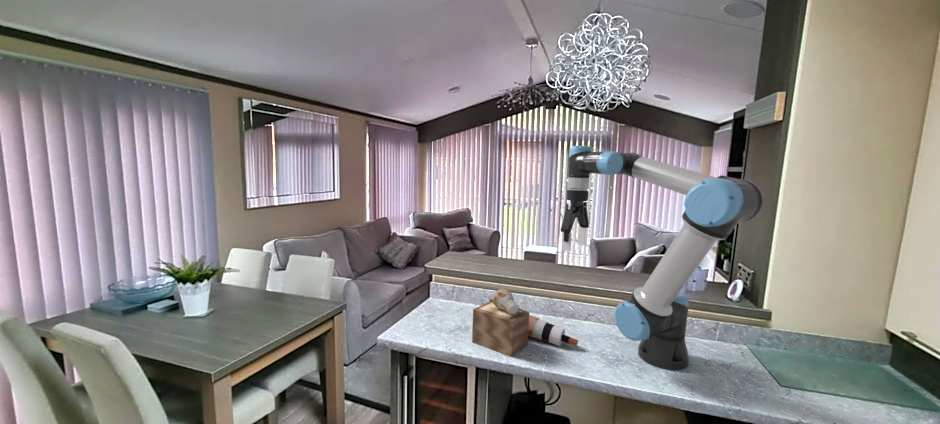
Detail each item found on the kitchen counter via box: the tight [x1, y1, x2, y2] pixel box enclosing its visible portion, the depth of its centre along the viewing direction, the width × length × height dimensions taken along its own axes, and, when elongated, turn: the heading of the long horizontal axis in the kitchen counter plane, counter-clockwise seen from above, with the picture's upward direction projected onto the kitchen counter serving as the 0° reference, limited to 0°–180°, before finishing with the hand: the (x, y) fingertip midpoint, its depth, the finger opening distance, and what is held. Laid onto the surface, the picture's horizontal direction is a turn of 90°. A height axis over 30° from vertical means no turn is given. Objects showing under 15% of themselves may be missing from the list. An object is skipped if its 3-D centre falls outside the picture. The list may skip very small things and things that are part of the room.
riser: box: [471, 300, 530, 358], centre depth 135 cm, size 16×11×13 cm
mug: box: [491, 287, 523, 315], centre depth 133 cm, size 8×10×10 cm
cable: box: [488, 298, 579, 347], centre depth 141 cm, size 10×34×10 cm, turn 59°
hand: (574, 247), depth 142 cm, fingers open, 13 cm apart
